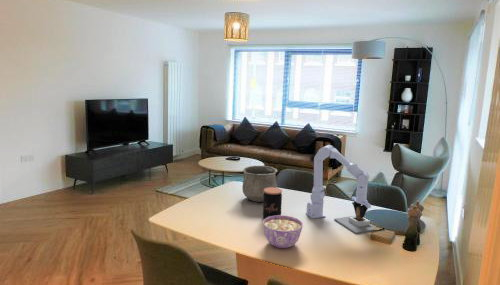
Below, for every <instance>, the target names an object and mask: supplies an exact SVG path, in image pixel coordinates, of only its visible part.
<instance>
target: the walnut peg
mask: <svg viewBox="0 0 500 285" xmlns="http://www.w3.org/2000/svg"><path fill="white" fill-rule="evenodd" d="M355 216H356V220H357V221H363V217H362V218H361V217H360V208H359V206H357V208H356V214H355Z"/></svg>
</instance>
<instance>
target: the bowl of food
mask: <svg viewBox="0 0 500 285" xmlns="http://www.w3.org/2000/svg"><path fill="white" fill-rule="evenodd" d="M303 225H304V224H303V222H302V221H301V220H300V219H298V218H297V217H293V216H289V215H283V214H281V215H276V216H270V217H267V218H265V219H263V220H262V226H263V227H262V228H263V231H264V235H265V239H266V241H267V242H268V243H269V244H270V245H272V246H274V247H275V248H276V247H277V248H278V249H287V248H290V247H293V246H294V245H296V243H297V242H299V239H300V236H301V233H302V229H303V227H304V226H303Z"/></svg>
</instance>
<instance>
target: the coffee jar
mask: <svg viewBox="0 0 500 285" xmlns="http://www.w3.org/2000/svg"><path fill="white" fill-rule="evenodd" d="M264 192H265V193H264V200H263V202H262V204H263V205H262V206H263V207H262V219H263V220H264V219H265V218H267V217H270V216H276V215H282V200H283V199H282V198H283V194H282V193H283V190H282V189H281V188H278V187H277V188H274V187H270V188H265V189H264Z"/></svg>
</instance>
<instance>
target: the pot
mask: <svg viewBox="0 0 500 285" xmlns="http://www.w3.org/2000/svg"><path fill="white" fill-rule="evenodd" d="M242 172H243V179H242V186H241V187H242V189H241V190H242V192H243V195H244V197H245V198H247V199H249V200H250V201H253V202H257V203H258V202H259V203H263V200H264V193H265V192H264V189H265V188H270V187H274V188H278V187H277V181H276V177H277V176H276V174H277V173H278V172H279V171H278V169H277V168H274V167H273V166H268V165H249V166H245V167H244V168H243V169H242Z"/></svg>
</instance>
